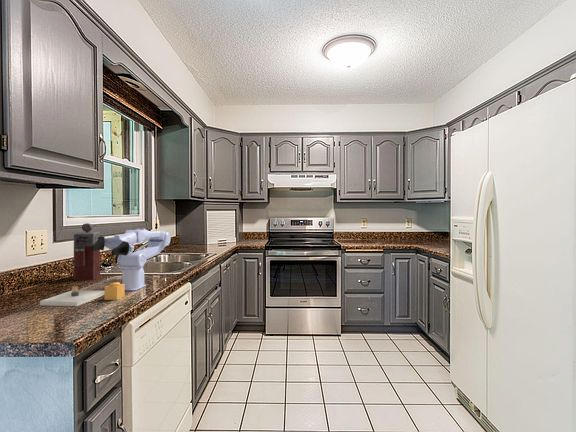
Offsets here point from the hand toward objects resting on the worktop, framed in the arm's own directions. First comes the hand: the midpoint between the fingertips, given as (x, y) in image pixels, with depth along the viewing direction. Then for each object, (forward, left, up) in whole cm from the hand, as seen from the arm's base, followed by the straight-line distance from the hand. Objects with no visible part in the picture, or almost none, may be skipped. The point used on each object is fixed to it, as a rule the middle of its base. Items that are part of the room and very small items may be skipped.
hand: (102, 250), depth 117 cm
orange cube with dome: (-5, +2, -19) cm, 20 cm away
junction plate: (-2, -12, -19) cm, 23 cm away
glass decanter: (-38, -34, -19) cm, 55 cm away
